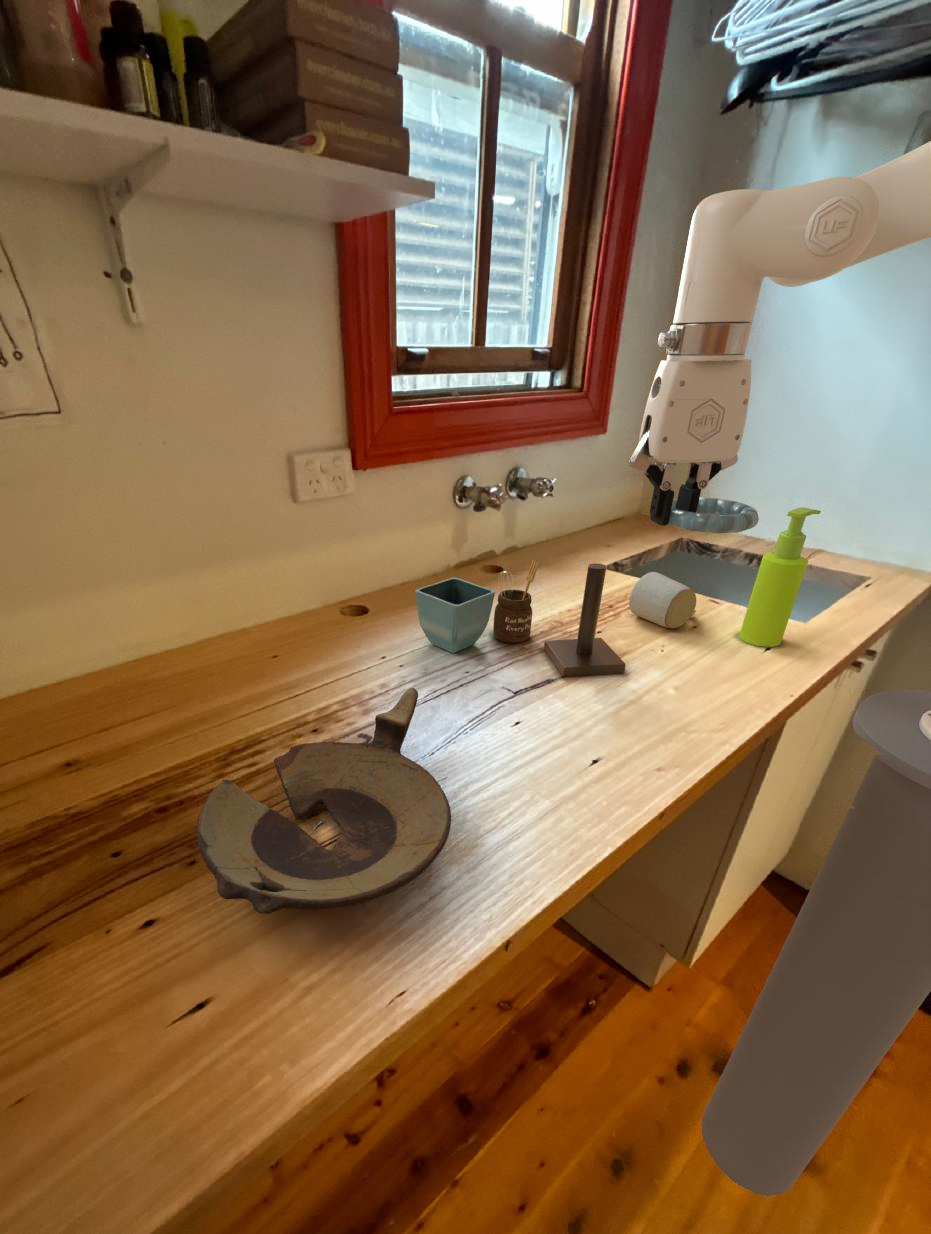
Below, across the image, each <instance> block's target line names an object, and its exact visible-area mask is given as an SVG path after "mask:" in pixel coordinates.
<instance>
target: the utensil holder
mask: <svg viewBox="0 0 931 1234" xmlns="http://www.w3.org/2000/svg"><path fill="white" fill-rule="evenodd" d="M539 563H540V562H539V561H537V560H535V559H532V560H531V563H530V567H529V570H528V572H527V574H526V581H527V583H526V586H525V590H522V589H514V577H513V575H512V574H510V571H507V570H505V571H504V570H503V571H501V572H500V574H499V575H498V576H497V578H498V579H500V578H501V579H502V583H505V581H504V580H505V579H504V577H505V575H502V574H506V575H508V573H509V574H510V576H511V584H512V586H511V588H512V589H505V588H502V591H501V586H502V587H504V584H501V586H500V581H497V583H498V589H499V593H498V596H497V604H496V605H495V608H494V613H493V625H492V626H493V628H492V629H493V630H492V631H493V636H494V638H495V639H497V640H498V641H500V642H504V643H509V644H517V643H523V642H525V641H527V640H529V638H530V635H531V630H532V621H533V607H532V605H531V604H532V594H531V593H529V592H528V590H529V588H530V585H531V583H533V582H534V580H535V577H536V573H537V570H538V567H539ZM506 577H507V578H506V581H508V585H511V584H510V580H509V579H510V577H509V576H506Z"/></svg>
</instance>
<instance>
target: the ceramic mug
mask: <svg viewBox="0 0 931 1234" xmlns="http://www.w3.org/2000/svg"><path fill="white" fill-rule="evenodd" d="M696 606H697V595H696V592H695V591H694V590H693V589H692V588H690V587H689V586H687V585H686V584H683V583H681V582H678V581H676V580H674V579H673V578H670V577H669V576H667V575H664V574H662V573H659V572H657V571H650V572H647V573H646V574H643V576H641V578H639V579H638V581H637V582H636V583H635V585H634V586H633V588H632V590H631V593H630V595H629V602H628V607H629V610H630V612H631V613H632V615H633V614H634V616H635V615H636V616H638V618H639V617H640V618H642V619H644V620H647V621H649V622H651V623H654V624H655V625H659V626H661V627H663V628H667V629H678V628H680V627H682V626H684V624H686V623H687V622H688V621H689V619H693V617H694V615H695V614H696V612H697V610H696V609H695V608H696Z"/></svg>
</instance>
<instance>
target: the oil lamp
mask: <svg viewBox="0 0 931 1234" xmlns="http://www.w3.org/2000/svg"><path fill="white" fill-rule="evenodd" d="M401 695H402V696H401V697H400V698H399V700H398V701H397V703H396V704H395V705H394V706H393V707H392V708H391V709H390V710H388V711H386V712H381V713H378V714H376V715H375V718H374V721H375V727H374V731H373V734H374V735H373V738H372V740H371V741H370V742H365V741H363V742H342V741H321V742H308V743H305V742H304V743H300V744H298V745H293V746H291V747H290V748H289V750H288V751H287V752H286V753H284V754H283V755H278V756H277V757H275V758H274V759H273V764H274V766H275V769H276V770H275V771H276V773H277V775H278V777H279V781H280V782H281V786H282V789H283V790H284V795H285V796H286V797H287V800H288V804H289V808H290V809H291V811H292V814H293V816H294V817H295V820H297V821H298V820H302V819H304V818H306V817H307V816H310V815H311V814H312V813H313V812H315V811H316V810H317V809H318V808H319V805H322V804H323V805H324V806H325V808H326V810H327V812H328V814H330V817H331V818H332V820H333V821H334V822H335V823H336V824H337V825H338V826H339V827H340V829H341V830H342V832H341V833H340V835H339V836H338V838H337V839H336V841H335V844H334V845H333V847H332V848H331V849H326V848H325V847H323V846H322V845H321V844H320V843H319V842H318V840H317V839H314V838H313V837H312V836H311V835H309V833H307V832H306V830H304V829H302V827H300V826H299V825H298V824H296V823H295V822H294V821H292V820H290V819H289V817H286V816H284V815H283V814H282V813H281V814H280V812H278V811H276V810H274V809H273V808H271V807H269V806H267V805H266V804H265V803H263V802H260V801H258V800H256V799H255V798H254V797H253V796H252V795H251V794H250V793H248V792H246V791H244V790H243V789H242V788H241V787H240V786H238V784H236V783H235V782H234V781H233V780H230V779H222V780H221V782H220V783H219V784H218V785H217V786H216V787H215V788H213V789H212V790H211V792H210V793H208V795H207V797H206V799H205V801H204V803H203V805H202V808H201V809H200V812H199V814H198V816H197V817H198V818H197V826H196V835H197V838H196V839H197V844H198V848H199V851H200V854H201V857H202V860H203V862H204V863H205V865H206V867H207V869H208V870H209V871H210V872H211V874H212V875H213V876H214V878H215V880H216V882H217V887H216V888H217V894H218V895H219V896H220V897H221V898H222V899H225V900H241V899H243V900H247V901H249V902H250V903H251V905H252V907H253V910H255V912H256V913H258V914H261V915H268V914H272V913H274V912H278V911H280V910H283V909H290V910H291V909H294V910H304V911H306V910H307V911H310V910H311V911H318V910H320V911H321V910H332V909H333V910H334V909H340V908H341V909H342V908H347V907H351V906H357V905H360V904H361V905H362V904H364V903H368V902H371V901H373V900H377V899H379V898H381V897H384V896H386V895H390V894H391V893H393V892H395V891H397V890H399V889H401V888H403V887H404V886H406V885H408V884H409V883H411V882H412V881H414V880H415V879H417V878H418V877H420V876H421V875H422V874H423V873H424V872H425V871H426V870H428V869H429V867H430V866H431V865H432V864H433V863H434V862H435V860H436V859H437V858H438V856H439V855H440V854H441V852H442V850H443V849H444V847H445V845H446V843H447V840H448V838H449V835H450V832H451V826H452V810H451V806H450V802H449V800H448V797H447V795H446V793H445V790H444V789H442V786H441V785H440V783H439V782H438V781H437V779H436V778H435V777H434V776H433V774H431V773H430V772H429V771H428V770H427V769H425V767H423V766H421V764H419V763H417V762H416V761H414V760H412V759H410V758H409V757H406V756H405V755H403V754H402V752H401V749H402V745H403V743H404V741H405V739H406V736H407V733H408V730H409V728H410V725H411V721H412V719H413V717H414V714H415V710H416V706H417V703H418V699H419V692H418V690H417V688H415V687H410V688H408V689H406V691H404V693H402V694H401ZM324 822H325V820H319V822H318V823H317V824H316V825H315V826H314V828H313V831H315V830H316V828H317V827H318V826H319V825H321V824H322V823H324Z"/></svg>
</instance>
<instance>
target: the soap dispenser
mask: <svg viewBox="0 0 931 1234" xmlns="http://www.w3.org/2000/svg"><path fill="white" fill-rule="evenodd" d="M821 512H822V511H821V510H818V509H813V508H809V507H798V508H795V509H792V510H789V511H788V512H787V515H786V516H787V517H791V518H790V521H789V524H788V528H787V529H786V530H784V531H781V532H779V535H778V538H777V541H776V545H775V548H774V551H773V552H766V553H764V554H763V555H762V558H761V561H760V565H759V567H758V571H757V575H756V578H755V580H754V585H753V588H752V591H751V595H750V597H749V601H748V604H747V608H746V611H745V614H744V618H743V620H742V625H741V628H740V631H739V634H738V636H739V638H740V640H742V641H743V642H745V643H747V644H750V645H753V646H757V647H763V648H774V647H778V646H780V645H781V643H782V641H783V638H784V634H785V632H786V629H787V626H788V623H789V620H790V618H791V614H792V611H793V608H794V605H795V603H796V599H797V597H798V593H799V590H800V587H801V584H802V582H803V579H804V576H805V572H806V570H807V567H808V564H809V559H808V558H806V557H804V556H801V554H802V551H803V547H804V546H805V542H806V538H807V535H806V534H804V532H802V529H803V527H804V524H805V521H806V517H809V516H812V515H820V514H821Z"/></svg>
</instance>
